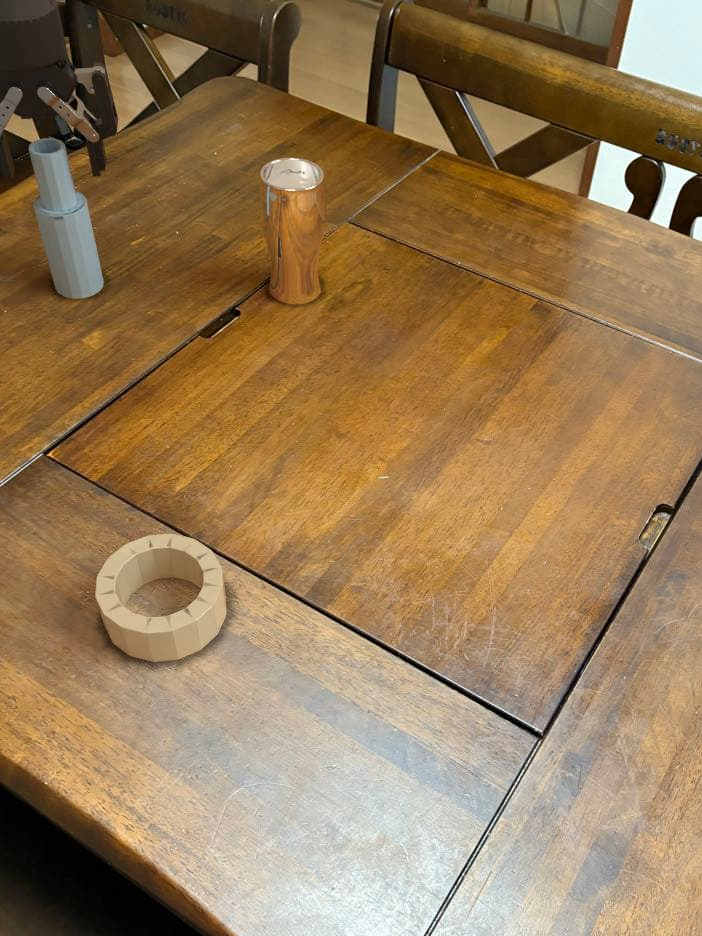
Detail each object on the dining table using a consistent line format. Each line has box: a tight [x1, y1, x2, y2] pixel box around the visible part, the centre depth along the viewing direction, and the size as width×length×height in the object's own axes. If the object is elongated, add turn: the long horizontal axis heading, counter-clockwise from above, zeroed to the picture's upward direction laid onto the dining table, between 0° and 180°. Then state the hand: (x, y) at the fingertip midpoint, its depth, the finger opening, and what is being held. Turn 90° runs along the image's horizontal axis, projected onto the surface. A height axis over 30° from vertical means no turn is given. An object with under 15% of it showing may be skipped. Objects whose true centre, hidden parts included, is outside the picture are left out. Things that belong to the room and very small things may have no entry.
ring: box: [94, 533, 227, 663], centre depth 75 cm, size 10×10×5 cm
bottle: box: [28, 137, 105, 300], centre depth 97 cm, size 5×5×17 cm
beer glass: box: [259, 157, 327, 305], centre depth 100 cm, size 7×7×15 cm
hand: (53, 173), depth 93 cm, fingers open, 8 cm apart
